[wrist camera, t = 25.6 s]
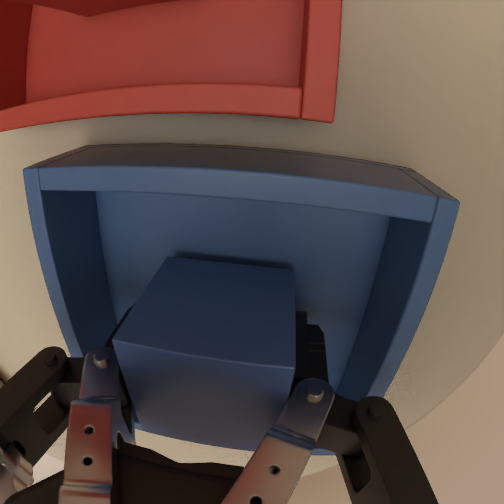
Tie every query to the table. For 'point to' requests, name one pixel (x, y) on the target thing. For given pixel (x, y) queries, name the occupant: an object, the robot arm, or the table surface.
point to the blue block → (210, 351)
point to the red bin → (170, 60)
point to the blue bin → (245, 240)
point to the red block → (90, 5)
